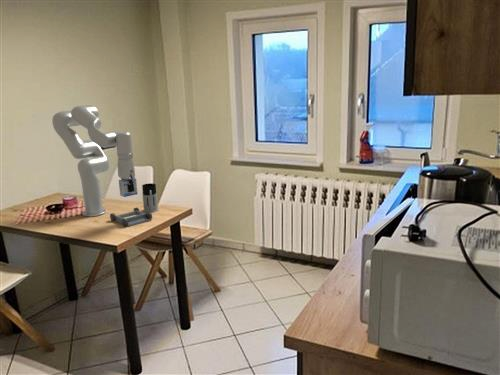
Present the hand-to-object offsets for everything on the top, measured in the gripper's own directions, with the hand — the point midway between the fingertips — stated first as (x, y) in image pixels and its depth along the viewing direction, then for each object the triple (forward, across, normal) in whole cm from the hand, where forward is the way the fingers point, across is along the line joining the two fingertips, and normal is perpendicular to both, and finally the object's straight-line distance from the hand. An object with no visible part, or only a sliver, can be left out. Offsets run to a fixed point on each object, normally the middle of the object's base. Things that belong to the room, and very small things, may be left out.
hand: (128, 190), depth 220 cm
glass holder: (+17, -6, +16) cm, 23 cm away
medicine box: (+3, 0, 0) cm, 3 cm away
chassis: (+16, 0, 0) cm, 16 cm away
